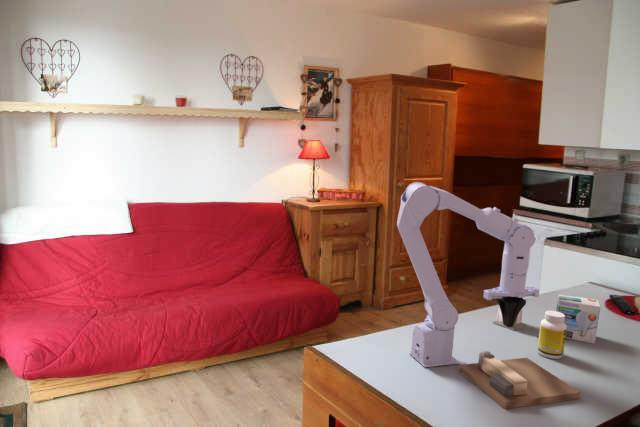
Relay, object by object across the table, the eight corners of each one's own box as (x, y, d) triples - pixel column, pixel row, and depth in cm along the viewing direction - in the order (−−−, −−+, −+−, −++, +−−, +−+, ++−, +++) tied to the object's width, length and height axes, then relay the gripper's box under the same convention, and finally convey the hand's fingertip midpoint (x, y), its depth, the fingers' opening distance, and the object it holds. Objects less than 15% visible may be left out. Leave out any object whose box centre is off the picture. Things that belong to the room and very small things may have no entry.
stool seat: (504, 409, 105) (506, 391, 104) (459, 370, 121) (460, 355, 120) (579, 398, 110) (581, 381, 110) (526, 363, 126) (527, 348, 126)
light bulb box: (553, 336, 144) (558, 300, 143) (552, 328, 151) (557, 293, 149) (596, 344, 140) (601, 306, 139) (593, 335, 147) (598, 299, 145)
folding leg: (475, 364, 120) (476, 349, 120) (487, 363, 121) (489, 348, 121) (513, 395, 107) (514, 378, 106) (526, 394, 108) (528, 377, 107)
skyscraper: (488, 321, 153) (497, 230, 149) (502, 316, 159) (512, 227, 154) (514, 330, 147) (525, 235, 142) (528, 324, 152) (539, 232, 148)
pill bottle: (566, 360, 129) (571, 319, 127) (540, 357, 130) (545, 316, 128) (559, 350, 135) (564, 310, 133) (534, 347, 136) (539, 308, 134)
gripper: (498, 278, 117) (492, 334, 119) (550, 275, 121) (543, 329, 124) (480, 269, 124) (475, 323, 126) (530, 267, 128) (524, 319, 130)
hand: (507, 325), depth 125 cm, fingers closed
